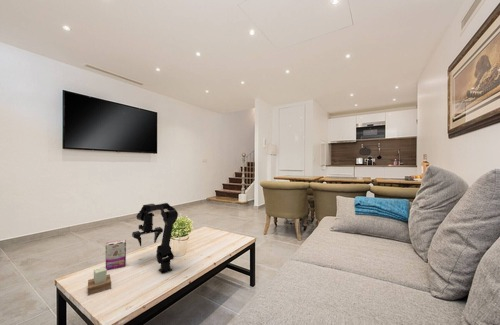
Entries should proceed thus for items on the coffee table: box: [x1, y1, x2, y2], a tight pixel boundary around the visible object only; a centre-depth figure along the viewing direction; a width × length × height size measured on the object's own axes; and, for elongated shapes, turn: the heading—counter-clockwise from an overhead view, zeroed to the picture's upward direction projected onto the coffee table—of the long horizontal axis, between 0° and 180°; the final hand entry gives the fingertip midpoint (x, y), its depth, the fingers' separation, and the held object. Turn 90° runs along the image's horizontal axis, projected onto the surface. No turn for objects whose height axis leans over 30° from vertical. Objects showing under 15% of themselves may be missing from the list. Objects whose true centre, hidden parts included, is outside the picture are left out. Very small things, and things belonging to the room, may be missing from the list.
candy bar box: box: [105, 239, 127, 271], centre depth 137 cm, size 11×5×16 cm, turn 117°
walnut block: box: [87, 274, 112, 296], centre depth 114 cm, size 10×10×4 cm
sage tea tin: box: [93, 266, 108, 284], centre depth 114 cm, size 5×5×6 cm
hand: (147, 244), depth 144 cm, fingers open, 9 cm apart
